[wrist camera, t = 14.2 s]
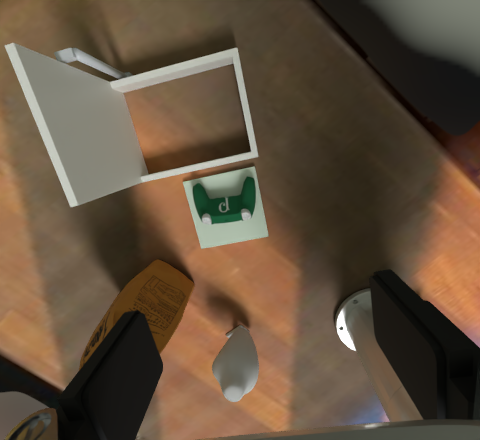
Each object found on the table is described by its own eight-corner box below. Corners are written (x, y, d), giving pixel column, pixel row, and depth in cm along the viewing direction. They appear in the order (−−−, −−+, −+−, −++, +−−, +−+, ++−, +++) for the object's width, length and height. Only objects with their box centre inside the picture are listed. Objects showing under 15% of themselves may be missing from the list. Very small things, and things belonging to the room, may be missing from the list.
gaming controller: (198, 195, 42) (198, 229, 39) (191, 181, 38) (190, 217, 35) (256, 188, 41) (259, 222, 38) (253, 172, 37) (257, 209, 35)
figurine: (265, 335, 47) (268, 398, 36) (246, 353, 48) (243, 418, 37) (233, 311, 46) (226, 368, 35) (214, 330, 47) (201, 390, 36)
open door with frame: (236, 44, 34) (219, -43, 18) (258, 155, 38) (260, 166, 22) (113, 78, 36) (-3, 28, 20) (145, 180, 40) (70, 207, 24)
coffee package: (116, 294, 46) (1, 421, 25) (159, 248, 43) (68, 349, 22) (160, 328, 48) (85, 474, 27) (204, 286, 45) (158, 413, 24)
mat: (254, 166, 39) (254, 166, 38) (268, 235, 42) (268, 236, 41) (183, 181, 40) (182, 182, 39) (202, 247, 43) (201, 248, 42)
